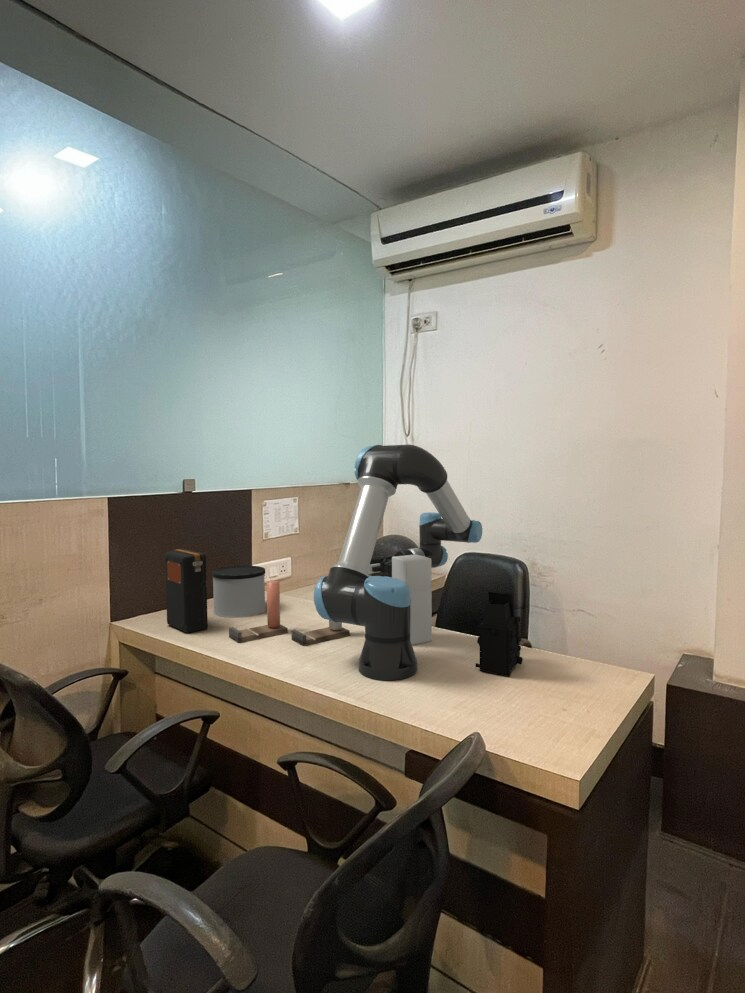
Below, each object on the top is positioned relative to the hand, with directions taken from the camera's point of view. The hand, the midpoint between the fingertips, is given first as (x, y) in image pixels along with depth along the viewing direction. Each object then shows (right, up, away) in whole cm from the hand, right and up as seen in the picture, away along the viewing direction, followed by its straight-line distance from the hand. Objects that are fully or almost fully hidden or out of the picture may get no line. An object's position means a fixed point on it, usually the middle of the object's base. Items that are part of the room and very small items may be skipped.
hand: (354, 568), depth 175 cm
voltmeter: (-55, -20, +6) cm, 59 cm away
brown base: (-30, -20, -3) cm, 36 cm away
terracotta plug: (-26, -18, 0) cm, 31 cm away
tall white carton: (+18, -21, -9) cm, 29 cm away
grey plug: (-6, -18, -3) cm, 19 cm away
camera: (+39, -22, -31) cm, 55 cm away
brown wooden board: (-10, -21, -6) cm, 24 cm away
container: (-43, -19, +26) cm, 54 cm away
